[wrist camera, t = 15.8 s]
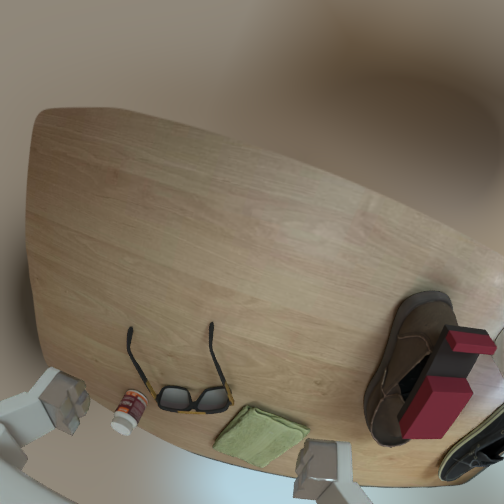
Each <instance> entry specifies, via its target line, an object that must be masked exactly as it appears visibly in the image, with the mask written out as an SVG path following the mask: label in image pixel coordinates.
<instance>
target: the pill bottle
mask: <svg viewBox="0 0 504 504" xmlns="http://www.w3.org/2000/svg"><path fill="white" fill-rule="evenodd" d="M147 404H148V401H147V399H146V397H145V396H144V395H143V394H141V393H140V392H138V391H135V390H128V391H127V392H126V394H125V395H124V397H123V399H122V400H121V402H120V404H119V406H118V407H117V409H116V411H115V412H114V418H113V420H112V422H111V426H112V428H113V429H114V430H115V431H117V432H118V433H120V434H122V435H130V434H131V432H132V430H133V428H135V427H136V426H137V425H138V423H139V420H140V418H141V416H142V414H143V412H144V410H145V408H146V406H147Z"/></svg>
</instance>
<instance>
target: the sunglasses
mask: <svg viewBox="0 0 504 504" xmlns="http://www.w3.org/2000/svg"><path fill="white" fill-rule="evenodd" d="M213 331H214V324H213V322H211V323H210V326H209V349H210V353H211V356H212V358H213V361H214V364H215V366H216V369H217V371H218V374H219V376H220V379H221V381H222V384H223V387H214V388H209V389H206V390H204V391H203V393H202V394H201V395H200V397H199V398H198V399H197V401H196V402H195V401H194V402H192V399H191V395H190V393H189V391H188V390H187V389H185V388H182V387H177V386H165V387H163V388H162V389H161V391H160V393H159V394H158V395H156V393H155V391H154V390H153V388H152V386H151V385H150V383H149V381H148V380H147V378H146V376H145V375H144V373H143V371H142V369H141V368H140V366H139V364H138V363H137V362H136V360H135V359H134V357H133V355H132V353H131V351H130V344H131V339H132V334H133V327H129V329H128V333H127V352H128V354H129V356H130V358H131V360H132V362H133V364H134V366H135V367H136V369H137V371H138V373H139V375H140V376H141V378H142V380H143V382H144V383H145V385H146V387H147V388H148V390H149V392H150V393H151V395H152V396H153V398H154V399H155V401H156V403H158V406H159V408H161V409H162V410H166V411H170V412H176V413H185V414H214V413H221V412H224V411H226V410H227V409H228V407H229V406H234V399H233V397H232V392H231V390H230V388H229V387H228V384H227V382H226V380H225V378H224V375H223V373H222V370H221V368H220V366H219V364H218V362H217V360H216V357H215V355H214V352H213V349H212V340H213ZM191 409H195V410H196V412H190V410H191Z"/></svg>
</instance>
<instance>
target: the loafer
mask: <svg viewBox="0 0 504 504" xmlns="http://www.w3.org/2000/svg"><path fill="white" fill-rule="evenodd" d="M445 324H447V325H454V326H458V323H457V320H456V317H455V314H454V312H453V307H452V303H451V300H450V298H449V297H448V296H447V295H446V294H445V293H442V292H439V291H424V292H420V293H417V294H414V295H412V296H411V297H409V298H408V299H406V300H405V301H404V302H403V303H402V304H401V306H400V308H399V309H398V312H397V314H396V317H395V320H394V323H393V326H392V330H391V334H390V337H389V341H388V344H387V347H386V350H385V353H384V356H383V359H382V362H381V365H380V367H379V369H378V370H377V372H376V374H375V376H374V377H373V378H372V380H371V382H370V384H369V386H368V388H367V390H366V393H365V396H364V414H365V419H366V423H367V426H368V428H369V431H370V432H371V435H372V437H373V438H374V440H375V441H376V442H377V443H378V444H379V445H381V446H384V447H390V448H392V447H395V446H400V445H403V444H405V443H407V442H409V441H410V440H411V439H402V435H401V430H400V425H399V422H398V419H397V415H398V413H399V411H400V410H401V408H402V406H403V405H404V403H405V401H406V399H407V398H408V396H409V394H410V392H411V391H412V389H413V387H414V385H415V383H416V382H417V380H418V378H419V376H420V374H421V372H422V370H423V368H424V367H425V365H426V363H427V361H428V359H429V357H430V355H431V353H432V351H433V349H434V346H435V344H436V342H437V340H438V338H439V336H440V334H441V331H442V329H443V327H444V325H445Z"/></svg>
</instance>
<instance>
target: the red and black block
mask: <svg viewBox="0 0 504 504" xmlns="http://www.w3.org/2000/svg"><path fill="white" fill-rule="evenodd" d="M496 349H497V346H496V345H495V343H494V342H493V341H492V339H491V338H490V336H489V334H488V333H487V332H486V330H482V329H475V328H468V327H461V326H454V325H447V324H445V325H444V327H443V329H442V331H441V334H440V336H439V338H438V340H437V342H436V344H435V346H434V349H433V351H432V353H431V355H430V357H429V359H428V361H427V363H426V365H425V367H424V368H423V370H422V372H421V374H420V376H419V378H418V380H417V382H416V383H415V385H414V387H413V389H412V391H411V392H410V394H409V396H408V398H407V399H406V401H405V403H404V405H403V406H402V408H401V410H400V411H399V413H398V415H397V419H398V422H399V425H400V430H401V435H402V439H441V438H442V437H443V436H444V434H445V433H446V432H447V430H448V429H449V428H450V426H451V425H452V424H453V422H454V421H455V420H456V418H457V417H458V415H459V414H460V412H461V411H462V410H463V408H464V407H465V405H466V404H467V402H468V401H469V399H470V398H471V396H472V395H473V392H472V390H471V388H470V385H469V383H468V381H467V379H466V378H467V376H468V374H469V372H470V371H471V369H472V367H473V365H474V364H475V362H476V360H477V358H478V356H479V354H488V355H494V353H495V351H496Z"/></svg>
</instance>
